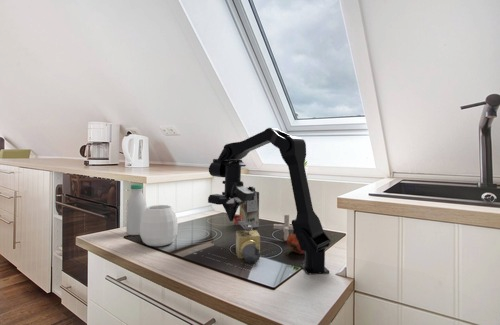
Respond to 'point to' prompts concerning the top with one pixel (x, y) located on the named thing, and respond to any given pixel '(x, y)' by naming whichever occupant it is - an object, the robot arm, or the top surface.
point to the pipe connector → (284, 226)
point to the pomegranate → (293, 244)
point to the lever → (242, 223)
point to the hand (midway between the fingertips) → (231, 221)
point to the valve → (248, 245)
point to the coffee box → (251, 211)
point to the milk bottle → (135, 209)
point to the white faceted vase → (158, 225)
